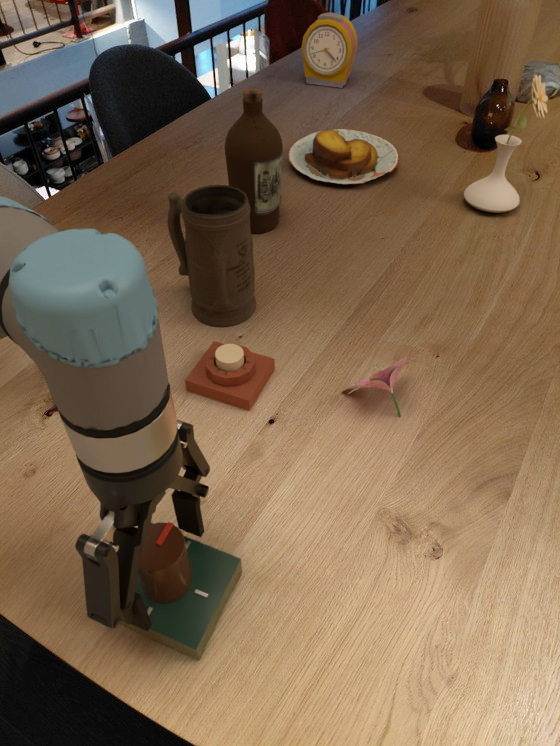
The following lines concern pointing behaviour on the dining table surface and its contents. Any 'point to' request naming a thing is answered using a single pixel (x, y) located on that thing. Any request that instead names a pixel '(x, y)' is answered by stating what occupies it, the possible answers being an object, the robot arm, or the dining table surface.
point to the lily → (385, 378)
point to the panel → (193, 601)
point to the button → (229, 357)
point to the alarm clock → (329, 48)
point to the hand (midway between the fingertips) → (166, 573)
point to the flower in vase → (505, 163)
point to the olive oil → (256, 162)
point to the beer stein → (215, 252)
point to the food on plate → (343, 156)
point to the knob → (165, 564)
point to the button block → (230, 378)
